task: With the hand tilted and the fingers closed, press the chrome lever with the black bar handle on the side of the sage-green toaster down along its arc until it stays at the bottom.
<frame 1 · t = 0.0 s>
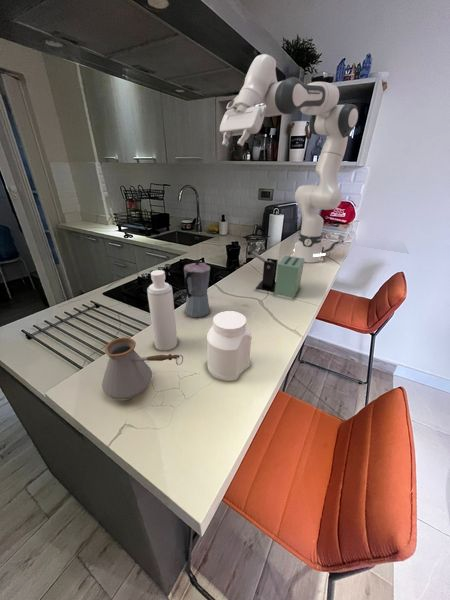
hand: (231, 145, 94), 54 cm above the table, tool tilted 30°, fingers open, 8 cm apart
lever: (261, 258, 109), point 13 cm above the table, hinge at 25.0°
toaster body: (287, 292, 110), on the table
moka pot: (197, 312, 95), on the table
jar: (228, 365, 70), on the table
white bottle: (166, 344, 78), on the table
lever bracket: (268, 288, 113), on the table
coffee pot: (146, 393, 62), on the table
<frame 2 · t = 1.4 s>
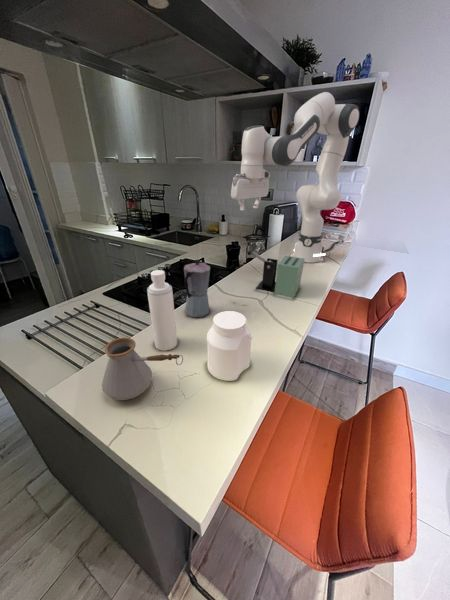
hand: (249, 209, 110), 31 cm above the table, tool pointing down, fingers open, 7 cm apart
nothing on the table moved.
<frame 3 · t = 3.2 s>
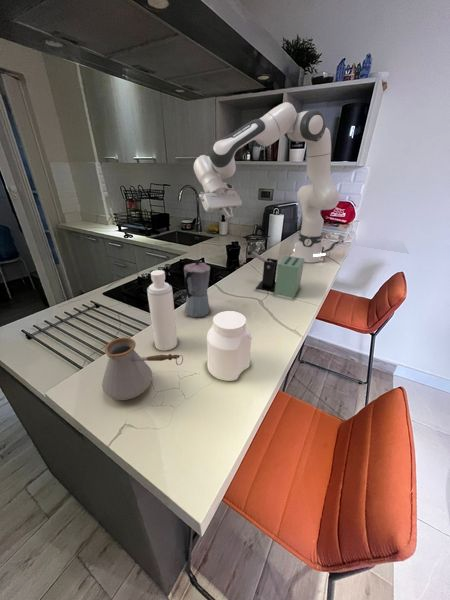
hand: (230, 217, 112), 28 cm above the table, tool tilted 45°, fingers closed
nothing on the table moved.
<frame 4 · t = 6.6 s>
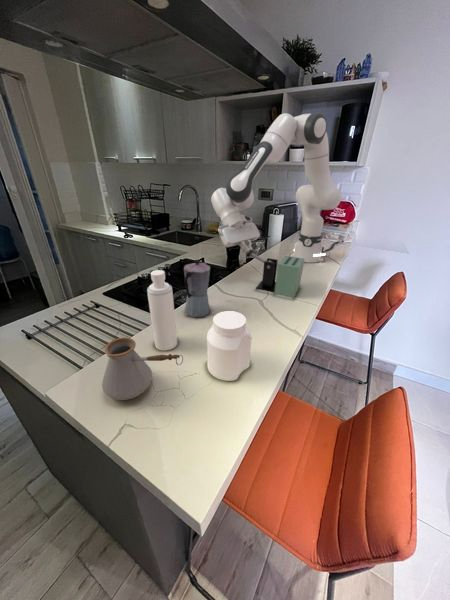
hand: (249, 250, 110), 16 cm above the table, tool tilted 45°, fingers closed
lever: (261, 259, 109), point 13 cm above the table, hinge at 19.7°, touching gripper
everything else where it was.
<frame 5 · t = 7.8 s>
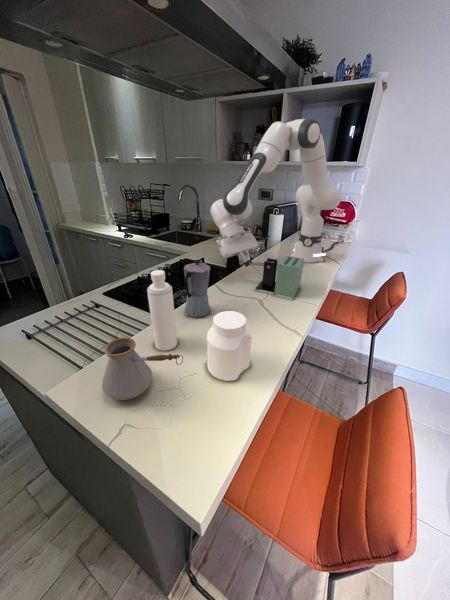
hand: (247, 261, 112), 11 cm above the table, tool tilted 45°, fingers closed
lever: (260, 264, 110), point 10 cm above the table, hinge at -7.2°, touching gripper
everything else where it was.
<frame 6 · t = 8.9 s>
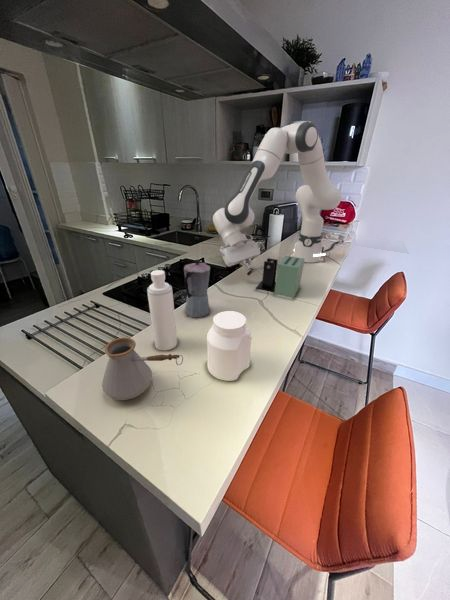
hand: (250, 269, 113), 7 cm above the table, tool tilted 45°, fingers closed
lever: (261, 268, 111), point 9 cm above the table, hinge at -29.7°, touching gripper
everything else where it was.
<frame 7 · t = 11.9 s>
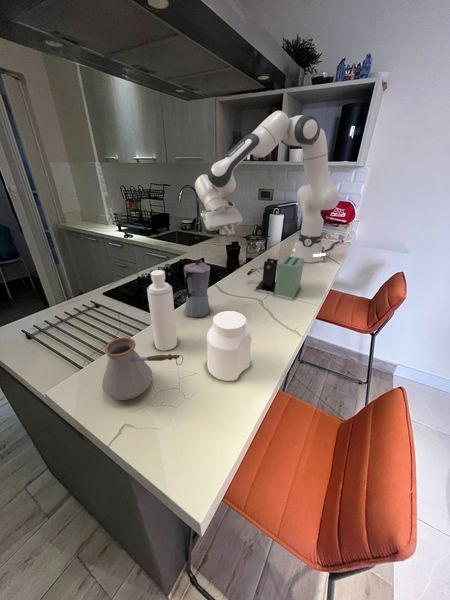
hand: (231, 234, 114), 20 cm above the table, tool tilted 45°, fingers closed
lever: (261, 268, 111), point 9 cm above the table, hinge at -29.8°
everything else where it was.
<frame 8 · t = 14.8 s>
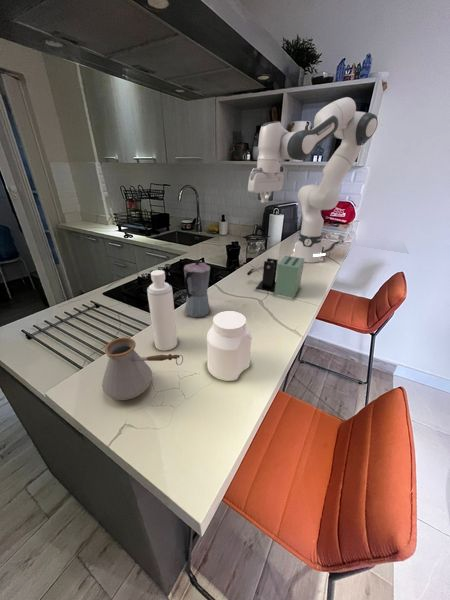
hand: (264, 202, 114), 33 cm above the table, tool pointing down, fingers closed
nothing on the table moved.
at the end: lever at -30° (first picture: +25°) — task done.
